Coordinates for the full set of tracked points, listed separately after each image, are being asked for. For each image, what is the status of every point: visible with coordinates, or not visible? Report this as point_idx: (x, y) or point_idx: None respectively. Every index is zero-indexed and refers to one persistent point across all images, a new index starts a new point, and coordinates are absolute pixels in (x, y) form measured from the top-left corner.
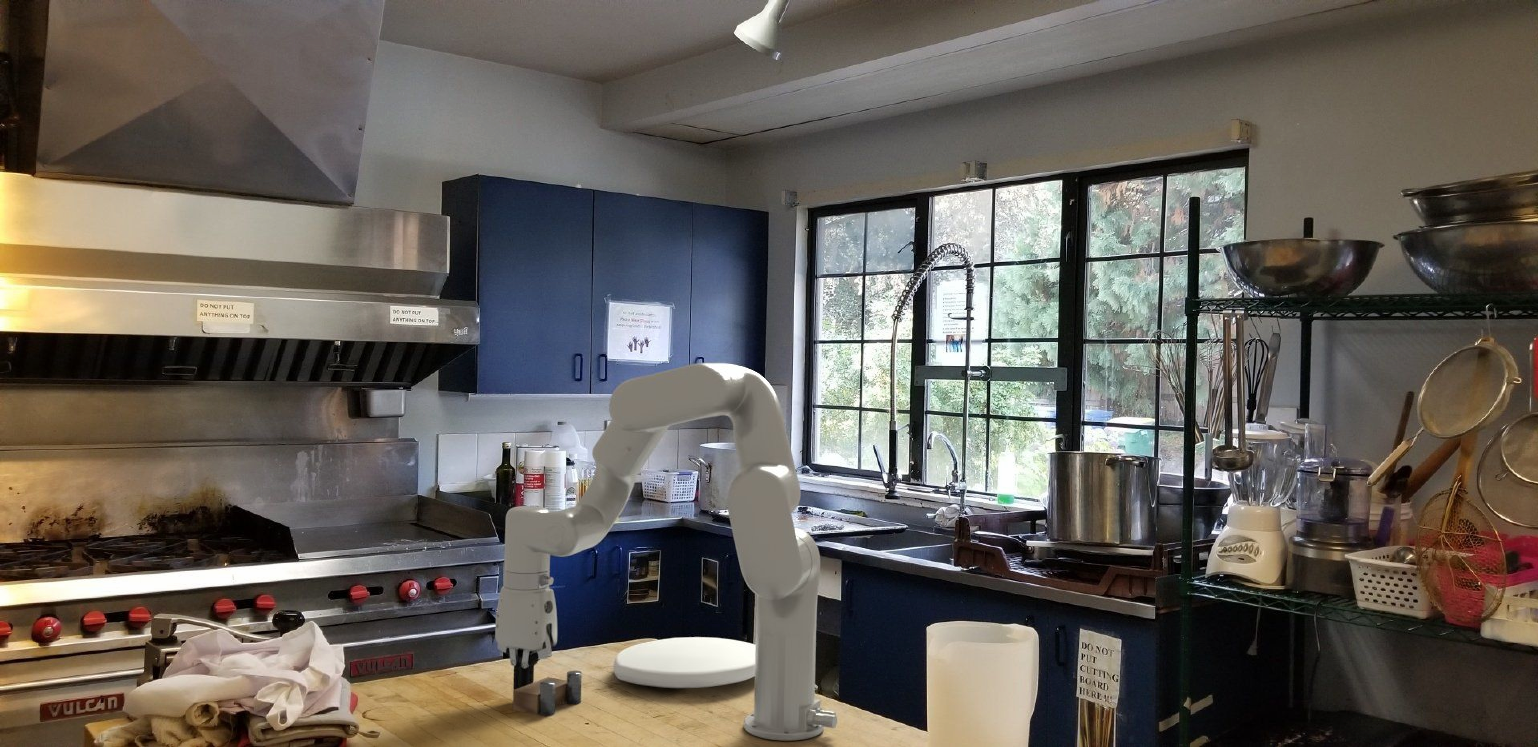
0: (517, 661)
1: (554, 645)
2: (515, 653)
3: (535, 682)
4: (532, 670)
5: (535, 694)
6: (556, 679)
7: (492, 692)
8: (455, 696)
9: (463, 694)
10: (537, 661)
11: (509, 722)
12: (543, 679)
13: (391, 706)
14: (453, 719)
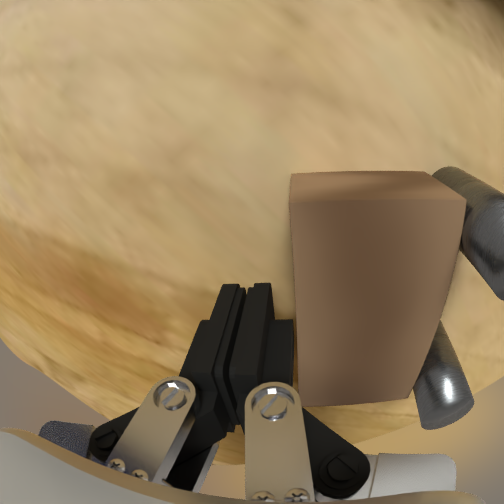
0: (213, 442)
1: (466, 494)
2: (199, 485)
3: (304, 316)
4: (290, 378)
5: (399, 398)
6: (373, 215)
7: (107, 268)
8: (93, 334)
9: (86, 316)
10: (322, 424)
11: (361, 405)
12: (301, 256)
13: (100, 401)
14: (239, 427)
